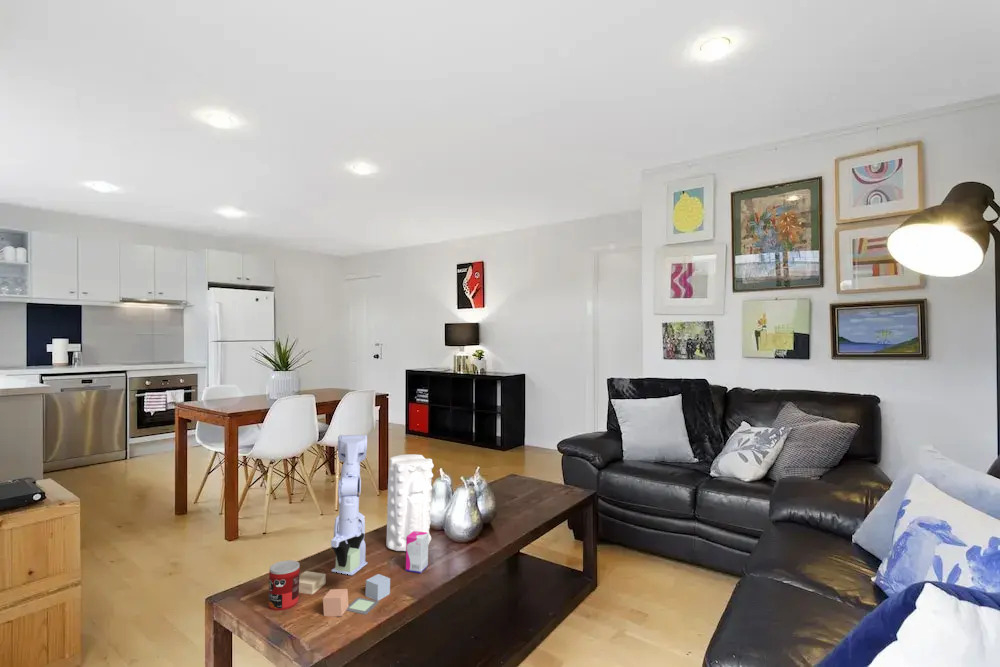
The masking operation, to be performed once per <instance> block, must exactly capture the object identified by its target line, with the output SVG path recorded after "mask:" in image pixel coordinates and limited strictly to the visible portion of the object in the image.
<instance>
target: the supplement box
mask: <svg viewBox="0 0 1000 667" xmlns="http://www.w3.org/2000/svg"><path fill="white" fill-rule="evenodd" d="M429 534H430V532H429V533H427V532H418V531H413V532H412V533H411V534H409V535H408V536H407V538H406V551H405V554H406V555H405V572H409V573H410V572H411V573H415V574H422V573H423V572H424V571H425V570H426V569H427V568H428V567H427V566H429V544H428V536H429Z"/></svg>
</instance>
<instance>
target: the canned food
mask: <svg viewBox="0 0 1000 667" xmlns="http://www.w3.org/2000/svg"><path fill="white" fill-rule="evenodd" d="M300 568H301V567H300V562H299V561H296V560H292V559H291V560H290V559H289V560H281V561H277V562H275V563H274V564H272V565H270V567H269V574H268V575H269V576H268V577H269V578H268V607H269V609H270V610H272V611H284V610H285V611H286V610H290V609H292V608H293V607H295V606H297V604H298V602H299V598H300V593H299V576H300V575H301V574H300V571H301V570H300Z"/></svg>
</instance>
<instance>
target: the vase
mask: <svg viewBox="0 0 1000 667" xmlns="http://www.w3.org/2000/svg"><path fill="white" fill-rule="evenodd" d="M434 465H435V464H434V463H433V459H432V458H426V457H424V455H423V454H414V453H413V454H408V453H407V454H398V455H394V456H391V457H390V458H389V464H388V477H387V478H388V479H387V482H388V483H387V504H386V507H387V509H386V510H387V511H386V512H387V513H386V542H385V543H386V547H387V548H388V549H390V550H393V551H396V552H406V538H407V536H408V535H409V534H411V533H412V532H413V531H418V532H427V533H429V536H428V545H429V544H430V542H431V541H432V536H431V534H430V528H431V527H430V526H431V522H432V521H431V515H430V514H431V510H432V507H431V505H432V490H433V486H432V481H433V480H432V478H433V477H434V473H433V469H434Z"/></svg>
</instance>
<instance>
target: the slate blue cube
mask: <svg viewBox="0 0 1000 667" xmlns="http://www.w3.org/2000/svg"><path fill="white" fill-rule="evenodd" d="M364 594H365V597H366V598H370V600H373V601H378V602H380V601H381V600H382V599H384V598H387V596H389V595H390V594H391V578H390V577H388V576H385V575H382V574H379V573H377V574H375V575H373V576H371V577H370V578H367V579H365V593H364Z"/></svg>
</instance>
